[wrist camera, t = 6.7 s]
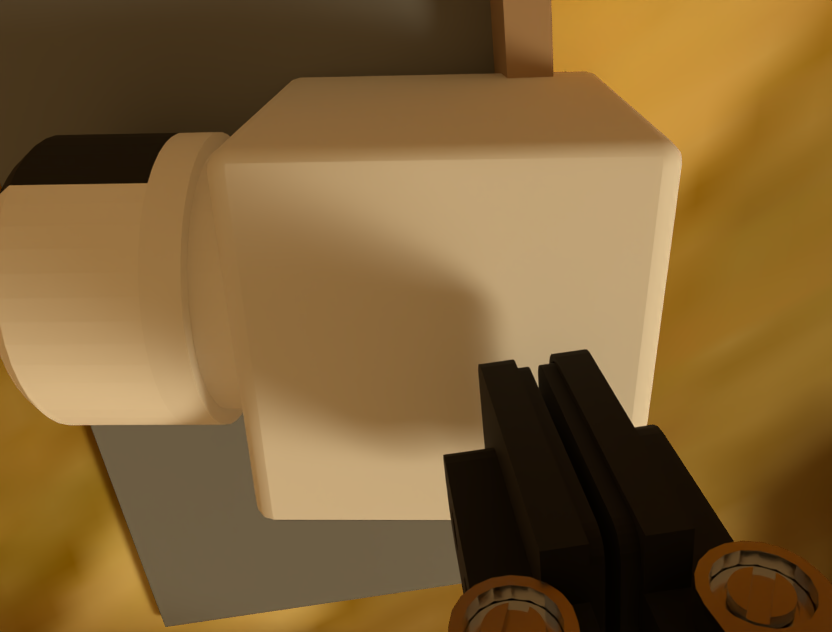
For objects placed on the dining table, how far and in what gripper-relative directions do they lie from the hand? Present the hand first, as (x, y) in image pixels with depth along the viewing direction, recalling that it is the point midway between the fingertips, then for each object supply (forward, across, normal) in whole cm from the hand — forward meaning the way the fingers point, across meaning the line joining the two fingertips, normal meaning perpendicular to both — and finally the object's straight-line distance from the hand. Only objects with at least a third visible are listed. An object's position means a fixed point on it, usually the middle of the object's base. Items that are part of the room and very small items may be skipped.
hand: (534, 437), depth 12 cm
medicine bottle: (+4, -3, 0) cm, 5 cm away
